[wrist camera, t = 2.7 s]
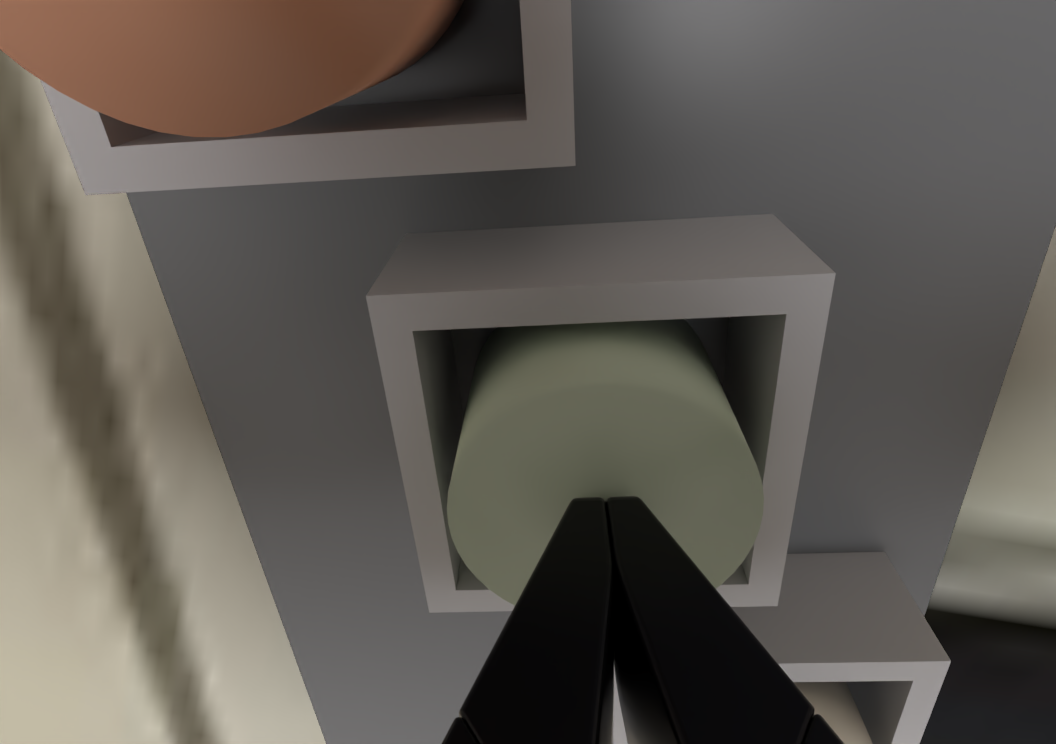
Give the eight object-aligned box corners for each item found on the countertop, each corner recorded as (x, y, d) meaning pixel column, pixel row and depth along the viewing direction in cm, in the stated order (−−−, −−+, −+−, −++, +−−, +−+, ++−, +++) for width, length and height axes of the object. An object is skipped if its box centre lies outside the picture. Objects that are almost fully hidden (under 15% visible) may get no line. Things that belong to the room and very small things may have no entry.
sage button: (722, 277, 10) (783, 376, 7) (703, 486, 12) (746, 622, 9) (458, 290, 10) (426, 390, 7) (484, 492, 12) (464, 628, 9)
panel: (1275, -661, 6) (1926, -1260, 3) (862, 713, 17) (929, 866, 14) (-63, -489, 7) (-506, -848, 4) (341, 717, 18) (297, 863, 15)
